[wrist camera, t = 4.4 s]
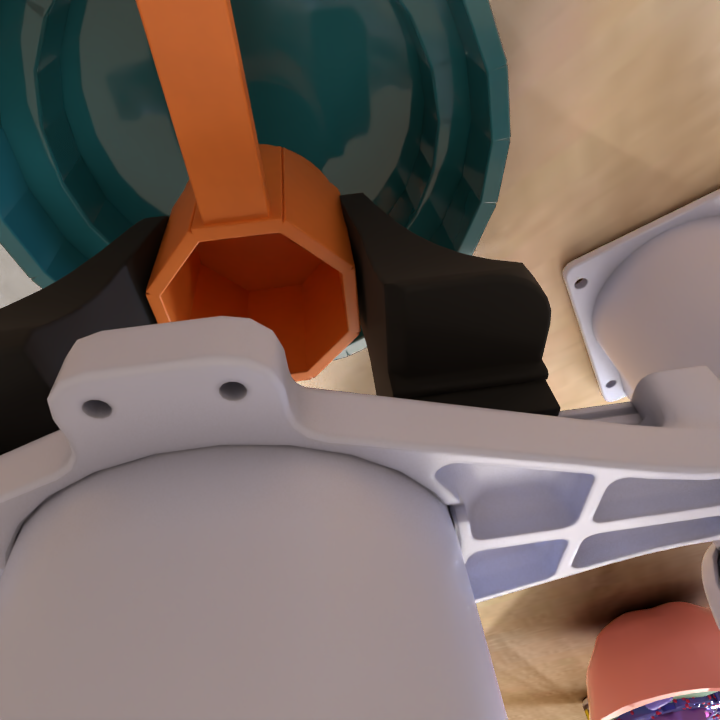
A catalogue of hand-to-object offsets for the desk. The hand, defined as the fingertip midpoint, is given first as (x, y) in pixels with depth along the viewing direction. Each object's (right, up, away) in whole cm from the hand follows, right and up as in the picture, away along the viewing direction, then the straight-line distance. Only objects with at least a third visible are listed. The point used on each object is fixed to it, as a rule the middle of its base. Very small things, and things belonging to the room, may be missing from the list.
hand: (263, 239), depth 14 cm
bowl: (-1, +4, +2) cm, 4 cm away
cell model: (+31, -28, +37) cm, 55 cm away
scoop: (0, +2, -1) cm, 2 cm away
